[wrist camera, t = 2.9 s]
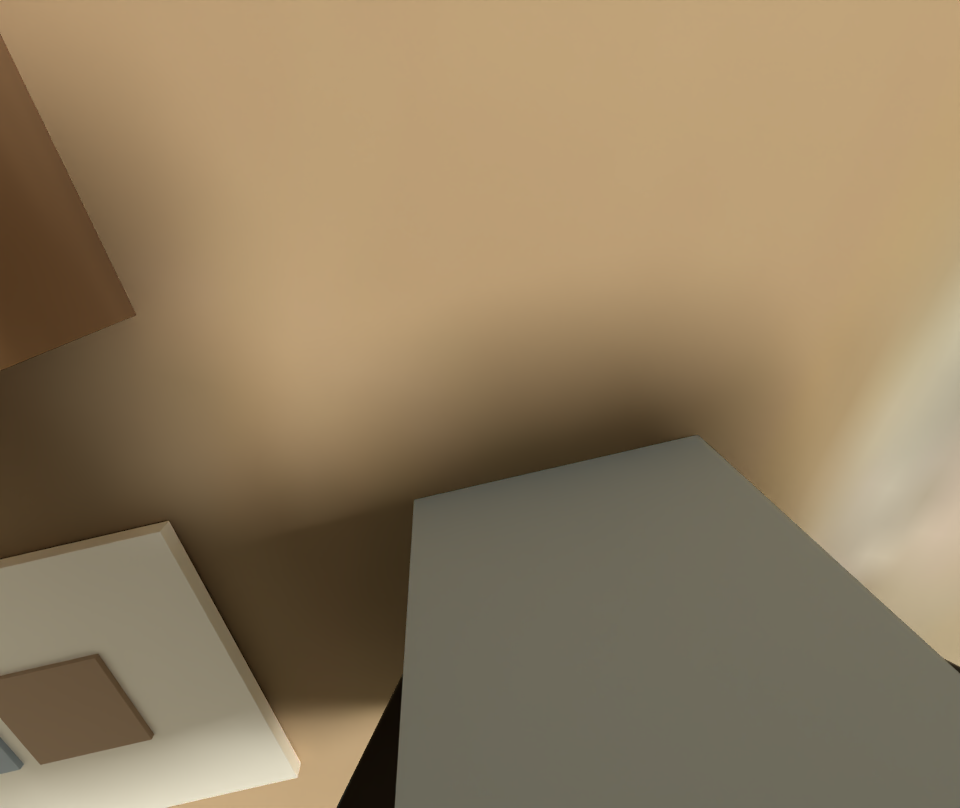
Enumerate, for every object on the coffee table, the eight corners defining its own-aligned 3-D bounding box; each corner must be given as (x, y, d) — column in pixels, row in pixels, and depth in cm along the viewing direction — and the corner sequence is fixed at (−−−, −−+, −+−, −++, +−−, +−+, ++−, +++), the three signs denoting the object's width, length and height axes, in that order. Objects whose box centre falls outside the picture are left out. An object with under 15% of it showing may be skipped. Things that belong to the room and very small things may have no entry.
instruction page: (168, 520, 9) (156, 535, 8) (300, 762, 11) (296, 783, 11) (-355, 641, 9) (-391, 661, 8) (-107, 856, 11) (-125, 878, 11)
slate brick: (696, 433, 9) (1130, 829, 3) (707, 642, 11) (994, 1111, 5) (414, 498, 9) (383, 997, 3) (475, 695, 11) (519, 1220, 5)
